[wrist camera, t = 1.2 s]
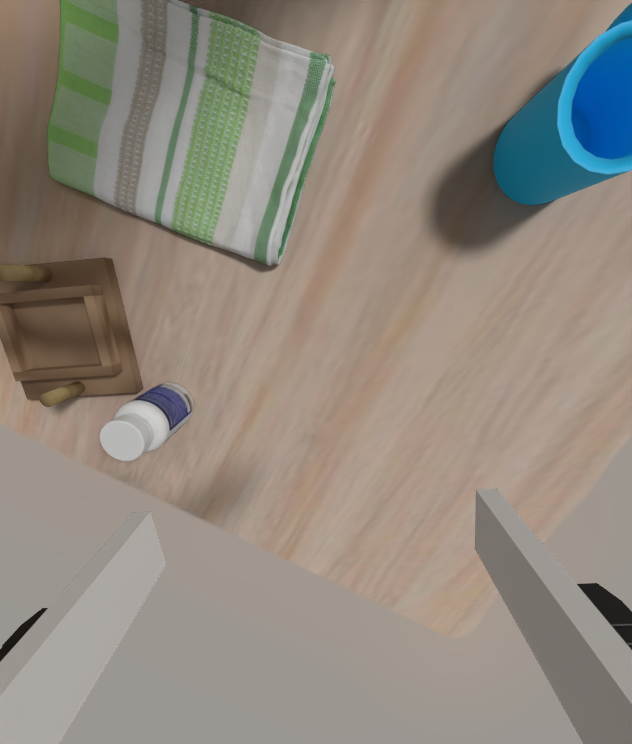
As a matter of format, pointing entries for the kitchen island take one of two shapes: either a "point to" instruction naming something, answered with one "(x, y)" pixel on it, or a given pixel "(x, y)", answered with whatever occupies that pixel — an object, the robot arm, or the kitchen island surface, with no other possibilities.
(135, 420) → the pill bottle
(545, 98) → the mug
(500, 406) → the kitchen island surface
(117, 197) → the dish towel
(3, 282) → the cradle
